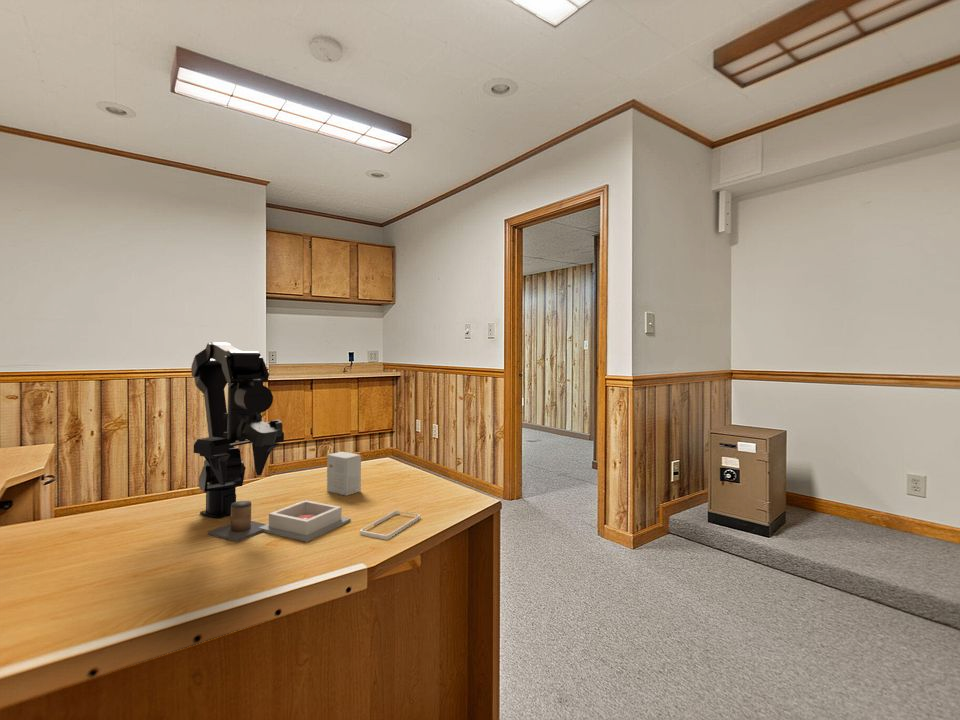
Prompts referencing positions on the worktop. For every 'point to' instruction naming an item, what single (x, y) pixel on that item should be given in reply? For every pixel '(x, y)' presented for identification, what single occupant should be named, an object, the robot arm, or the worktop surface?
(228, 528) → the pad
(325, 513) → the grey square tray
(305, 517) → the button
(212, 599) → the worktop surface
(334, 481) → the small box
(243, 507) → the dowel
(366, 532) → the phone case
